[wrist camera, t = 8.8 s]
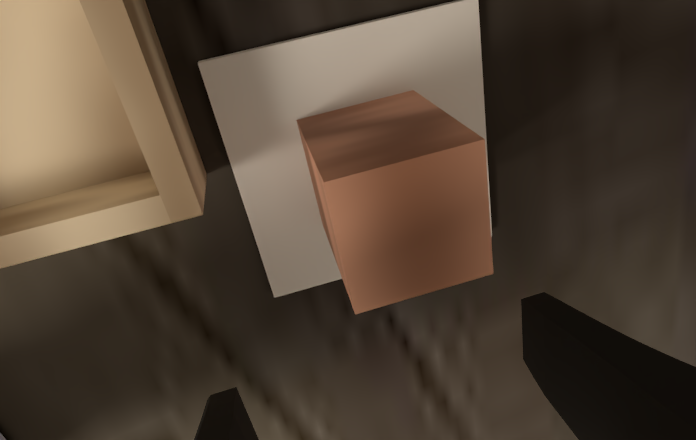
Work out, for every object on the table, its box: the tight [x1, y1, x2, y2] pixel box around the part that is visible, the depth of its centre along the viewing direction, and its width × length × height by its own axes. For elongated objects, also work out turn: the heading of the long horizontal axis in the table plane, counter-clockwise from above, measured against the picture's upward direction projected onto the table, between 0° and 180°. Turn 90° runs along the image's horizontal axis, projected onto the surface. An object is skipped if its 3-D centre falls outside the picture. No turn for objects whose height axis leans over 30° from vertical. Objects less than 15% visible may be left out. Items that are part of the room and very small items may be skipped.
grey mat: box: [198, 0, 492, 298], centre depth 20 cm, size 10×10×1 cm
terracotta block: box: [296, 90, 493, 314], centre depth 17 cm, size 4×4×6 cm
